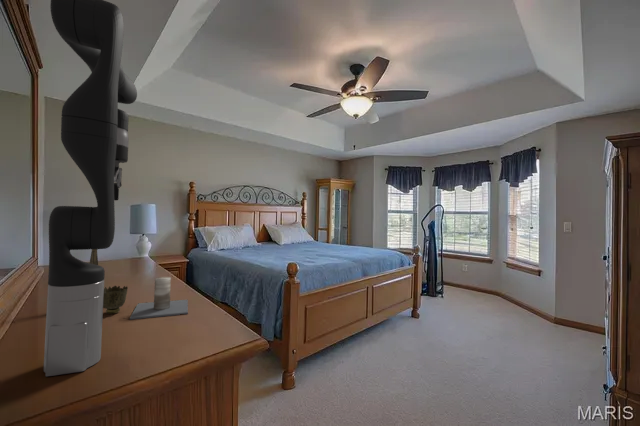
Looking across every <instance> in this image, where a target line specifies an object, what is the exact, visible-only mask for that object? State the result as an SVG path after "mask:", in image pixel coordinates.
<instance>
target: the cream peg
mask: <svg viewBox="0 0 640 426" xmlns="http://www.w3.org/2000/svg"><path fill="white" fill-rule="evenodd" d="M171 284H172V277H171V276H158V277H155V278H154V290H153V291H154V292H153V294H154V295H153V302H154V309H155V310H164V309H168V308H170V301H171V286H172V285H171Z"/></svg>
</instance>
